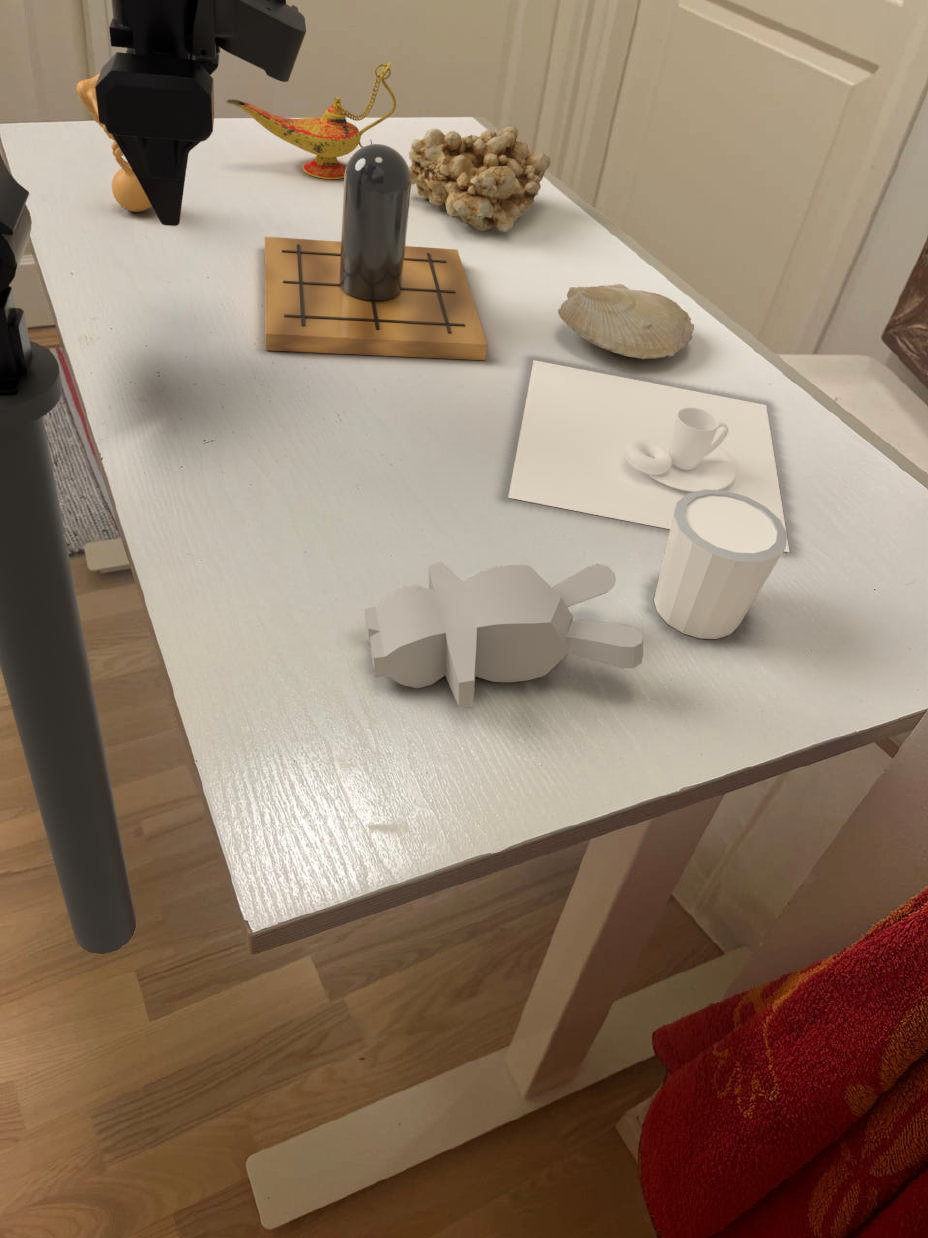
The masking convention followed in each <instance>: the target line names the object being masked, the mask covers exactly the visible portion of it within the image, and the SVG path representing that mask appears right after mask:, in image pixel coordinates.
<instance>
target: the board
mask: <svg viewBox="0 0 928 1238" xmlns="http://www.w3.org/2000/svg"><path fill="white" fill-rule="evenodd" d="M340 255H341V241H336V240H322V239H307V238H294V237H293V238H291V237H279V236H278V237H276V236H264V313H265V314H264V316H265V317H264V318H265V319H264V321H265V324H264V328H265V333H264V334H265V338H264V339H265V340H264V341H265V351H272V352H273V351H274V352H291V353H292V352H295V353H313V354H315V353H317V354H336V355H338V354H340V355H360V356H379V357H380V356H381V357H382V356H383V357H384V356H385V357H400V358H401V357H405V358H425V359H426V358H427V359H444V360H445V359H446V360H447V359H449V360H470V361H471V360H472V361H486V357H487V351H488V345H489V344H488V342H487V338H486V334H485V332H484V329H483V326H482V323H481V320H480V319H481V318H480V316H479V313H478V309H477V307H476V304H475V301H474V297H473V295H472V291H471V288H470V284H469V282H468V278H467V276H466V273H465V272H466V271H465V269H464V266H463V263H462V259H461V257H460V254H459V250H458V249H454V248H441V247H425V246H410V245H405V255H404V266H403V277H402V287H401V292H400V293H399V294H398V295H397V296H396V297H394V298H391V299H388V300H381V301H372V300H364V299H360V298H356V297H353V296H351V295H349V294H347V293H346V292H344V291H343V290H342V289H341V287H340V285H339V275H340Z"/></svg>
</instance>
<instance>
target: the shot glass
mask: <svg viewBox="0 0 928 1238" xmlns="http://www.w3.org/2000/svg"><path fill="white" fill-rule="evenodd" d="M787 540H788V532H787V529H786V530H785V528H784V526H783V524H782V522H781V520H780V519H779V518H778V517H776V516H775V515H774V514H773V513H772V512H771V511H770V510H769V509H768V508H767V507H765V506H763V505H761V504H760V503H758V502H756V501H754V500H752V499H750V498H748V497H746V496H743V495H739V494H736V493H732V492H729V491H723V490H701V491H697V492H692V493H688V494H687V495H686V496H684V497H683V498H682V499H680V500H679V501H678V502H677V504H676V508H675V512H674V516H673V520H672V524H671V529H669V533H668V537H667V542H666V547H665V550H664V554H663V558H662V565H661V568H660V572H659V575H658V580H657V585H656V589H655V593H654V598H653V603H654V606H655V609H656V613H657V614H658V615H659V616H660V617H661V619H662V620H664V622H665V623H666V624H667V625H669V626H670V627H672V628H673V629H675V630H676V631H678V632H679V633H681V634H684V635H687V636H689V637H690V636H691V637H693V638H697V639H700V640H701V639H702V640H703V639H705V640H718V639H721V638H725V637H728V636H730V635H732V634H733V633H734V632H735V631H736V629H737V628H739V626H740V625H741V623H742V621H743V620H744V618H745V617H746V615H747V613H748V611H749V610H750V608H751V606H752V604H754V602H755V600H756V598H757V597H758V594H759V593H760V591H761V590H762V588H763V586H764V585H765V583H766V581H767V580H768V578H769V577H770V575H771V573H772V571H773V570H774V568H775V566H776V565H777V563H778V561H779V560H780V558H781V556H782V555H783V553H784V550H785V548H786V542H787Z"/></svg>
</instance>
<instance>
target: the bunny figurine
mask: <svg viewBox="0 0 928 1238" xmlns="http://www.w3.org/2000/svg"><path fill="white" fill-rule="evenodd" d="M616 582H617V577H616V573H615V572H614V571H613V570H612V569H611V568H610V567H609V566H607V565H604V564H600V563H595V564H592V565H589V566H587V567H585V568H583V569H581V570H580V571H577V573H575V574H572V575H571V576H569V577H568V578H565V579H564V580H562V581H561V582H559V583H558V584H555V585H554V586H551V585H550V584H549V583H548V582H547V581H546V580H545V579H544V578H543V577H542V576H541V575H540V574H539V573H538V572H537V571H536V570H535V569H534V568H533V566H531V565H530V564H509V565H502V566H495V567H492V568H489V569H485V570H481V571H479V572H478V573H476V574H474V575H473V576H471V577H469V578H468V579H466V580H464V581H463V579H461V578H460V577H459V576H458V575H456V573H455V572H453V571H452V570H451V569H450V568H449V567H448V566H447V565H446V564H445V563H444V562H443V561H439V562H436V563H433V564H429V565H428V587H426V586H422V585H418V584H415V585H405V586H404V585H403V586H401V587H400V588H398V589H396V590H394V591H392V592H391V593H389V594H388V595H387V596H386V597H384V598H383V599H382V600H381V601H380V602H379V603H378V604H377V605H376V606H373V607H366V608H364V616H365V628H366V634H367V640H368V645H369V648H370V657H371V662H372V668H373V674H374V677H375V678H377V677H388V678H389V679H390V680H392V681H394V682H396V683H398V684H399V685H401V686H405V687H409V688H413V689H421V688H425V687H429V686H432V685H433V684H435V683H437V682H438V681H439V680H441V679H442V678H444V677H445V678H446V680H447V684H448V685H449V688H450V690H451V692H452V695H453V698H454V700H455V702H456V704H457V707H465V708H468V707H469V708H473V707H474V701H475V687H476V677H477V678H479V679H482V680H485V681H489V682H492V683H515V682H516V683H517V682H525V681H530V680H534V679H538V678H542V677H545V676H546V675H547V674H548V673H549V672H550V671H552V669H554V668H555V666H557V665H558V663H560V662H561V661H562V660H563V659H564V658H565V657H567V655H568V654H570V655H575V656H578V657H581V658H584V659H588V660H591V661H594V662H598V663H602V664H605V665H608V666H612V667H616V668H618V669H635V668H636V667H638V666H639V665H641V664H642V663H643V657H644V635H642V633H641V631H639V630H638V629H637V628H636V627H635V626H630V625H627V624H622V623H620V624H619V623H611V622H601V621H587V620H577V619H574V616H573V614H572V612H571V611H570V609H569V607H572V606H574V605H577V604H580V603H583V602H586V601H589V600H591V599H595V598H596V597H599V596H602V595H604V594H607V593H608V592H610V591H611V590H612V589H613V588H614V587H615V586H616Z"/></svg>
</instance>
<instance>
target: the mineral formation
mask: <svg viewBox="0 0 928 1238" xmlns="http://www.w3.org/2000/svg"><path fill="white" fill-rule="evenodd" d="M518 136H519V129H518V128H517V126H510V125H508V126H506V127H505V128H503V129H502V131H501V132H500V134H497V133H496V131H492V130H488V129H486V130H485V131H483V132H481V133H480V136H477V135H475V134H470V135H467V136H464V137H462V136H461V134H460V133H459V132H458V131H455V130H450V131H448V132H447V133H446V134H444V133H443V132H442V131H441V129H438V128H429V129H428V130H426V131H425V133H424V135H423V138H421V139H416V138H414V139H412V140H411V141H410V150H409V151H408V159H409V160H410V163H411V165H410V166H408V167H409V170H410V174H411V185H414V184H415V186H416V191H417V194H418V195H419V196H420V197H422V198H425V199H428V200H429V203H430V204H431V205H433V206H436V207H440V206H443V205H445V210H446V214H447V215H448V216H450V217H460V218H461V220H462V221H463V222H464V223H465V224H470V226H472V227H473V228H475V230H478V231H481V232H485V231H486V230H493V228H494V227H496V228H497V230H499V231H500V232H502V233H506V232H509V231H510V230H511V229H512V228H513V227H514V223H515V222H517V220H518V219H519V217H522V216H523V215H524V214H526V213H527V212H529V211H530V210H531V209H532V207H533V205H534V203H535V197H536V196H538V195H539V191H540V190H541V188H542V186H541V181H542V180H543V178H544V176H545V174H546V172H547V170H548V169H549V167H551V165H552V164H551V157H550V156H549V155H548V154H547V153H545V152H538V151H535V152H534V153H532V152H531V151H530V149H529V144H528V142H527V143H526V142H524V141H522V140H521V141H518V140H517V139H518Z"/></svg>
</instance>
